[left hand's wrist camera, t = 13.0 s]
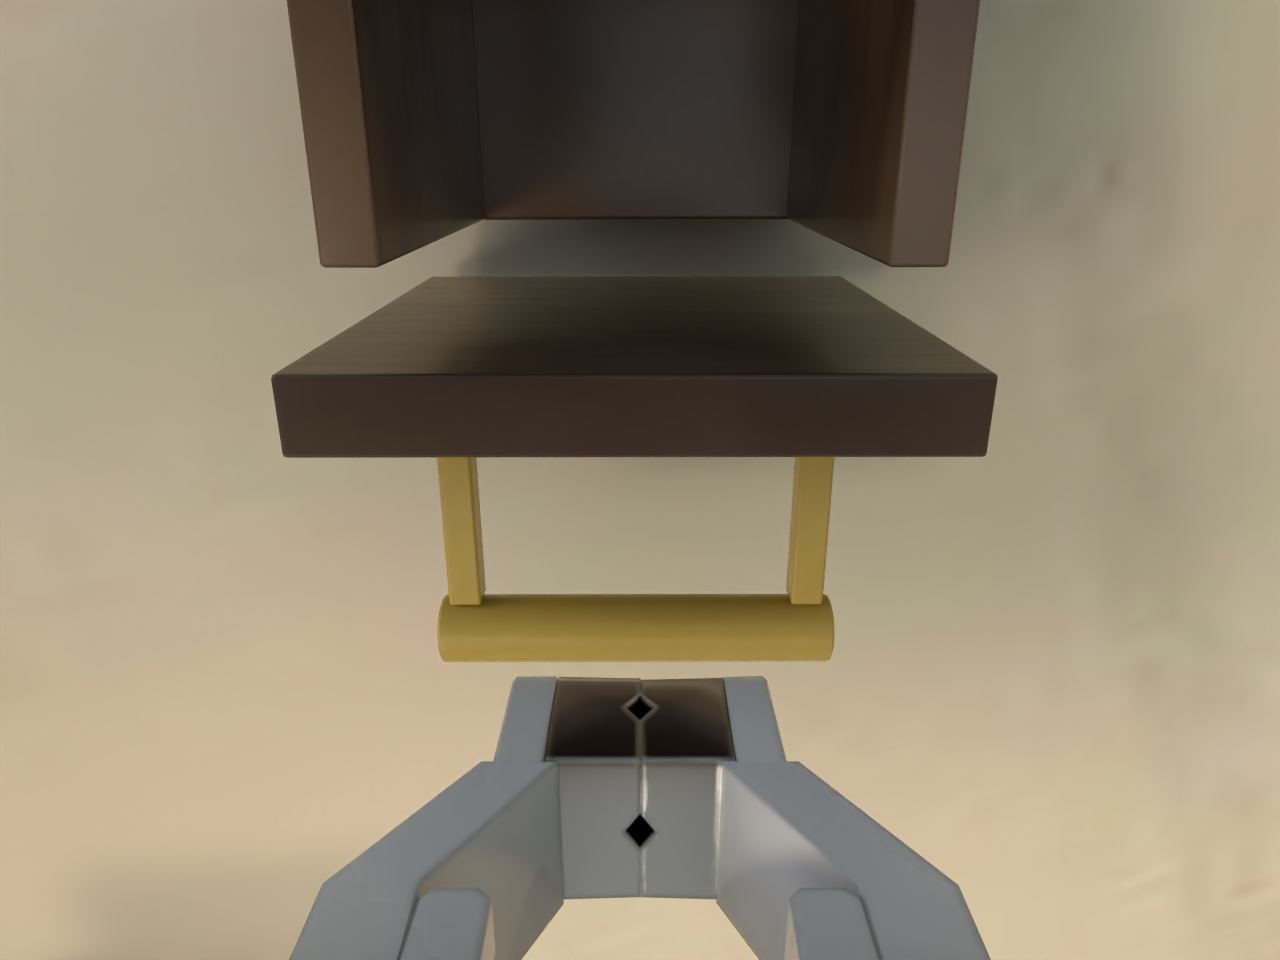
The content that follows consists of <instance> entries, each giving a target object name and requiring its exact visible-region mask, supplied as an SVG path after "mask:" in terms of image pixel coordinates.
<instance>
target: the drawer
mask: <svg viewBox="0 0 1280 960" xmlns="http://www.w3.org/2000/svg"><path fill="white" fill-rule="evenodd" d="M287 6H288V14H289V22H290V30H291V37H292V45H293V53H294V61H295V69H296V77H297V85H298V92H299V100H300V108H301V116H302V124H303V132H304V139H305V147H306V155H307V163H308V171H309V179H310V187H311V194H312V202H313V210H314V218H315V226H316V234H317V242H318V249H319V257H320V263H321V266H323V267H379V266H381V265H383V264H385V263H388V262H390V261H392V260H394V259H396V258H399V257H401V256H403V255H405V254H408V253H410V252H412V251H414V250H417V249H419V248H421V247H423V246H425V245H428V244H430V243H432V242H434V241H437V240H439V239H441V238H443V237H445V236H448V235H450V234H452V233H454V232H457V231H459V230H461V229H463V228H465V227H468V226H470V225H472V224H474V223H477V222H479V221H481V220H791V221H793V222H795V223H797V224H800V225H802V226H804V227H806V228H808V229H810V230H813V231H815V232H817V233H819V234H821V235H823V236H826V237H828V238H830V239H832V240H834V241H836V242H838V243H841V244H843V245H845V246H847V247H849V248H851V249H854V250H856V251H858V252H860V253H862V254H864V255H867V256H869V257H871V258H873V259H875V260H877V261H880V262H882V263H884V264H886V265H888V266H890V267H945V266H947V265H948V261H949V253H950V245H951V237H952V228H953V220H954V212H955V204H956V196H957V187H958V179H959V171H960V163H961V154H962V146H963V138H964V130H965V121H966V113H967V105H968V97H969V88H970V80H971V72H972V64H973V55H974V47H975V39H976V31H977V22H978V14H979V6H980V0H287ZM271 380H272V387H273V393H274V400H275V406H276V413H277V419H278V426H279V433H280V439H281V446H282V452H283V455H284V457H288V458H301V457H437V464H438V475H439V486H440V498H441V509H442V521H443V532H444V543H445V555H446V566H447V577H448V589H449V595H446V596H445V597H444V599H443V601H442V603H441V607H440V612H439V619H438V646H439V652H440V655H441V658H442V660H443V661H446V662H641V661H828V660H829V659H830V658H831V655H832V652H833V646H834V618H833V611H832V606H831V603H830V600H829V598H828V596H827V595H825V594H823V588H824V576H825V564H826V551H827V539H828V527H829V515H830V503H831V491H832V479H833V467H834V457H982V456H985V455H986V453H987V446H988V439H989V432H990V426H991V419H992V412H993V405H994V399H995V392H996V385H997V374H995V373H993V372H992V371H990V370H989V369H987V368H986V367H984V366H982V365H981V364H979V363H978V362H976V361H974V360H973V359H971V358H970V357H968V356H966V355H965V354H963V353H962V352H960V351H958V350H957V349H955V348H954V347H952V346H950V345H949V344H947V343H946V342H944V341H942V340H941V339H939V338H938V337H936V336H934V335H933V334H931V333H930V332H928V331H926V330H925V329H923V328H922V327H920V326H919V325H917V324H915V323H914V322H912V321H911V320H909V319H907V318H906V317H904V316H903V315H901V314H899V313H898V312H896V311H895V310H893V309H891V308H890V307H888V306H887V305H885V304H883V303H882V302H880V301H879V300H877V299H875V298H874V297H872V296H871V295H869V294H867V293H866V292H864V291H863V290H861V289H860V288H858V287H856V286H855V285H853V284H852V283H850V282H848V281H847V280H845V279H844V278H842V277H840V276H829V277H431V278H429V279H428V280H426V281H425V282H423V283H421V284H420V285H418V286H416V287H415V288H413V289H412V290H410V291H408V292H407V293H405V294H403V295H402V296H400V297H399V298H397V299H395V300H394V301H392V302H390V303H389V304H387V305H386V306H384V307H382V308H381V309H379V310H377V311H376V312H374V313H373V314H371V315H369V316H368V317H366V318H364V319H363V320H361V321H360V322H358V323H356V324H355V325H353V326H351V327H350V328H348V329H347V330H345V331H343V332H342V333H340V334H338V335H337V336H335V337H334V338H332V339H330V340H329V341H327V342H325V343H324V344H322V345H321V346H319V347H317V348H316V349H314V350H312V351H311V352H309V353H308V354H306V355H304V356H303V357H301V358H299V359H298V360H296V361H295V362H293V363H291V364H290V365H288V366H286V367H285V368H283V369H282V370H280V371H278V372H277V373H275V374H273V375H272V378H271ZM476 457H795V466H794V482H793V497H792V512H791V527H790V543H789V558H788V573H787V588H786V590H787V592H788V594H499V595H484V593H485V590H486V588H485V573H484V559H483V545H482V531H481V517H480V503H479V489H478V475H477V461H476Z"/></svg>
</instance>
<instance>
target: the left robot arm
mask: <svg viewBox="0 0 1280 960" xmlns="http://www.w3.org/2000/svg"><path fill="white" fill-rule="evenodd" d="M623 897H655V898H691V899H717V904H718V905H719V907H720V908H721V909H722V911H723V912H724V913H725V915H726V916H727V917H728V919H729V920H730V921H731V923H732V924H733V925H734V927H735V928H736V929H737V931H738V932H739V933H740V935H741V936H742V937H743V939H744V940H745V941H746V943H747V944H748V945H749V947H750V948H751V949H752V951H753V952H754V953H755V955H756V956H757V957H758V959H759V960H991V959H990V957H989V955H988V952H987V950H986V948H985V945H984V943H983V941H982V938H981V936H980V934H979V932H978V929H977V927H976V925H975V922H974V920H973V918H972V915H971V913H970V911H969V908H968V906H967V904H966V902H965V899H964V897H963V895H962V892H961V890H960V888H959V885H957V884H956V883H955V882H954V881H952V880H951V879H950V878H948V877H947V876H946V875H944V874H943V873H942V872H941V871H939V870H938V869H937V868H935V867H934V866H933V865H932V864H930V863H929V862H928V861H926V860H925V859H924V858H923V857H921V856H920V855H919V854H917V853H916V852H915V851H914V850H912V849H911V848H910V847H908V846H907V845H906V844H904V843H903V842H902V841H901V840H899V839H898V838H897V837H895V836H894V835H893V834H892V833H890V832H889V831H888V830H886V829H885V828H884V827H883V826H881V825H880V824H879V823H877V822H876V821H875V820H874V819H872V818H871V817H870V816H868V815H867V814H866V813H864V812H863V811H862V810H861V809H859V808H858V807H857V806H855V805H854V804H853V803H852V802H850V801H849V800H848V799H846V798H845V797H844V796H843V795H841V794H840V793H839V792H837V791H836V790H835V789H834V788H832V787H831V786H830V785H828V784H827V783H826V782H824V781H823V780H822V779H821V778H819V777H818V776H817V775H815V774H814V773H813V772H812V771H810V770H809V769H808V768H806V767H805V766H804V765H803V764H801V763H800V762H787V761H786V757H785V753H784V749H783V745H782V741H781V736H780V732H779V728H778V724H777V720H776V716H775V712H774V708H773V704H772V700H771V696H770V692H769V688H768V684H767V680H766V679H765V678H764V677H763V676H752V677H725V678H702V679H659V680H640V679H635V678H585V677H559V678H558V679H557V678H556V677H517V678H516V679H515V680H514V681H513V683H512V687H511V691H510V695H509V699H508V703H507V707H506V711H505V715H504V720H503V724H502V728H501V732H500V736H499V740H498V744H497V748H496V753H495V757H494V761H493V762H480V763H479V764H478V765H476V766H475V767H474V768H472V769H471V770H470V771H468V772H467V773H466V774H465V775H463V776H462V777H461V778H459V779H458V780H457V781H455V782H454V783H453V784H452V785H450V786H449V787H448V788H446V789H445V790H444V791H442V792H441V793H440V794H439V795H437V796H436V797H435V798H433V799H432V800H431V801H430V802H428V803H427V804H426V805H424V806H423V807H422V808H420V809H419V810H418V811H417V812H415V813H414V814H413V815H411V816H410V817H409V818H407V819H406V820H405V821H404V822H402V823H401V824H400V825H398V826H397V827H396V828H395V829H393V830H392V831H391V832H389V833H388V834H387V835H385V836H384V837H383V838H382V839H380V840H379V841H378V842H376V843H375V844H374V845H372V846H371V847H370V848H369V849H367V850H366V851H365V852H363V853H362V854H361V855H359V856H358V857H357V858H356V859H354V860H353V861H352V862H350V863H349V864H348V865H347V866H345V867H344V868H343V869H341V870H340V871H339V872H337V873H336V874H335V875H334V876H332V877H331V878H330V879H328V880H327V881H326V882H324V883H323V884H322V886H321V889H320V891H319V893H318V896H317V898H316V900H315V902H314V905H313V907H312V909H311V911H310V914H309V916H308V918H307V921H306V923H305V925H304V927H303V930H302V932H301V934H300V936H299V939H298V941H297V943H296V946H295V948H294V950H293V952H292V955H291V957H290V959H289V960H521V959H522V958H523V957H524V955H525V954H526V953H527V951H528V950H529V949H530V947H531V946H532V945H533V943H534V942H535V941H536V939H537V938H538V937H539V935H540V934H541V933H542V931H543V930H544V929H545V927H546V926H547V925H548V924H549V922H550V921H551V920H552V918H553V917H554V916H555V914H556V913H557V912H558V910H559V909H560V908H561V906H562V905H563V899H588V898H623Z"/></svg>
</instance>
